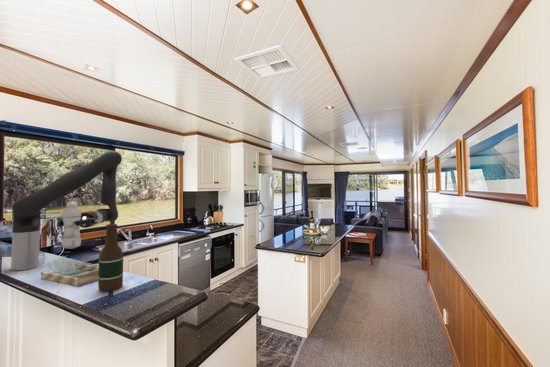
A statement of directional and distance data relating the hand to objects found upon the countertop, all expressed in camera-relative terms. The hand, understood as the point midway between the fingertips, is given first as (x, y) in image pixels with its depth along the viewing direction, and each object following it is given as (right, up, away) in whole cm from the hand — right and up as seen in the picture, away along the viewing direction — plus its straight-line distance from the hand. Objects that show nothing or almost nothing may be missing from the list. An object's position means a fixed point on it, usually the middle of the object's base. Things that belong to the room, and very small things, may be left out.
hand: (68, 223), depth 106 cm
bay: (+4, -23, 0) cm, 23 cm away
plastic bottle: (0, -11, +2) cm, 11 cm away
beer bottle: (+26, -22, -12) cm, 37 cm away
